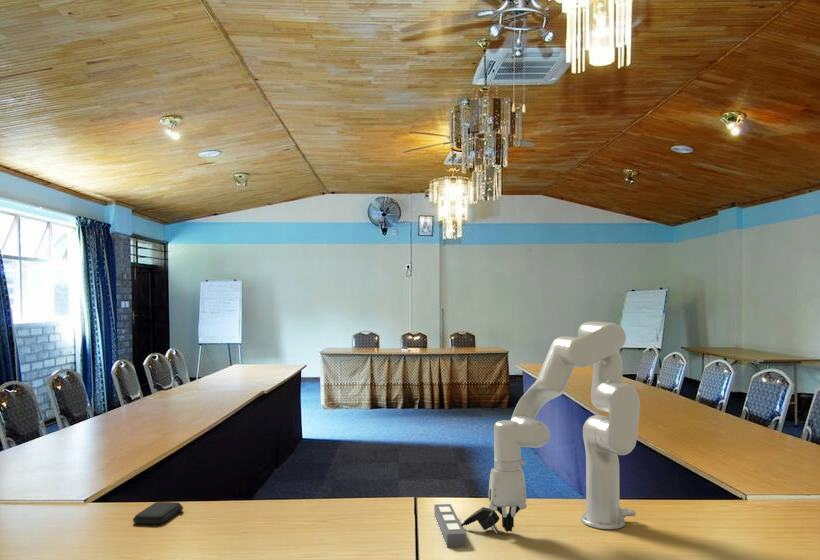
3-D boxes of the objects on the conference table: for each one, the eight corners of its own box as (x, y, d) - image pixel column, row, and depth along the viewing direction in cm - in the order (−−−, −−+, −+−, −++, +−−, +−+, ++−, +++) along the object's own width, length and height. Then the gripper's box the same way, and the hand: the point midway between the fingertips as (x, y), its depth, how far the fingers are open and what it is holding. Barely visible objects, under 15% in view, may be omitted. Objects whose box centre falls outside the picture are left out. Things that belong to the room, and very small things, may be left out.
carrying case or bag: (164, 528, 180) (188, 510, 194) (164, 517, 180) (188, 501, 195) (130, 526, 181) (155, 509, 196) (130, 516, 181) (156, 499, 196)
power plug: (457, 522, 182) (490, 500, 180) (472, 544, 181) (505, 523, 179) (454, 529, 176) (488, 507, 174) (469, 552, 175) (504, 530, 173)
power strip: (450, 515, 190) (450, 503, 190) (465, 546, 166) (465, 532, 166) (434, 516, 189) (434, 503, 189) (447, 547, 166) (447, 533, 166)
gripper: (529, 460, 180) (529, 524, 180) (478, 462, 179) (479, 526, 178) (536, 467, 173) (537, 533, 172) (484, 469, 171) (485, 536, 171)
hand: (507, 529), depth 175 cm, fingers closed
